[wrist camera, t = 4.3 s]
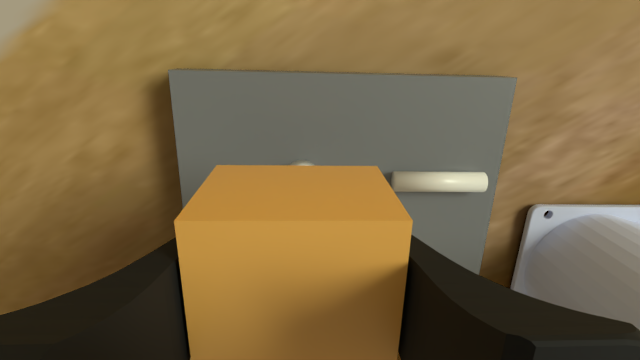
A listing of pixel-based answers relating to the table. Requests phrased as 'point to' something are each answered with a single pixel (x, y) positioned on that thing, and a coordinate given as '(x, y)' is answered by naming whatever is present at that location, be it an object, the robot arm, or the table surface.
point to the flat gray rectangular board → (357, 137)
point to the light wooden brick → (294, 264)
